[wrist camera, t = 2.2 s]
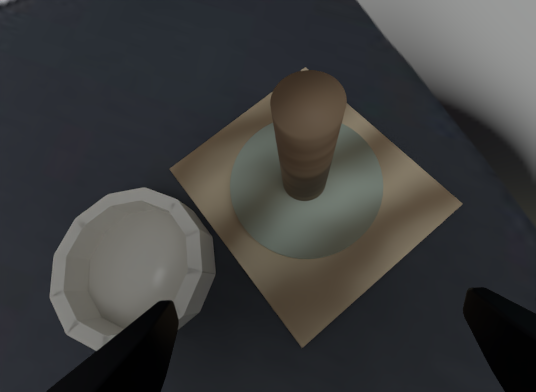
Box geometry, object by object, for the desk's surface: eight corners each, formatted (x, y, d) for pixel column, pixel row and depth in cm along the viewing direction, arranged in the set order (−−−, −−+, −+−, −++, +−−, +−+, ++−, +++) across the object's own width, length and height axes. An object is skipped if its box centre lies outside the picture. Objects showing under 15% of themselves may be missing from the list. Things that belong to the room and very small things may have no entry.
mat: (460, 205, 21) (462, 204, 21) (302, 347, 19) (302, 348, 19) (305, 69, 27) (305, 67, 27) (170, 170, 25) (169, 168, 25)
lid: (412, 191, 22) (516, 105, 11) (296, 293, 20) (293, 301, 10) (310, 98, 25) (317, -33, 15) (205, 178, 24) (133, 97, 14)
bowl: (241, 276, 21) (232, 275, 18) (123, 375, 20) (92, 391, 17) (169, 177, 25) (151, 162, 22) (63, 256, 24) (28, 252, 21)
